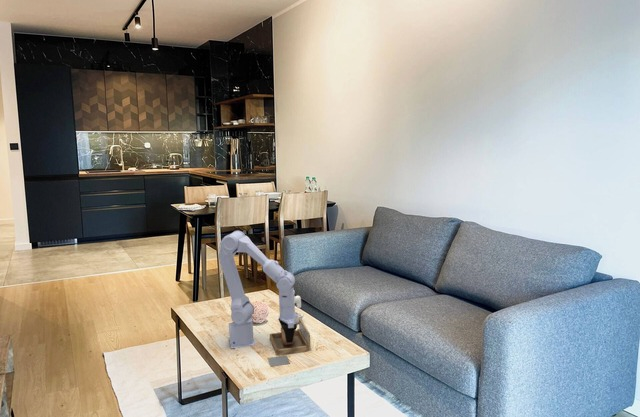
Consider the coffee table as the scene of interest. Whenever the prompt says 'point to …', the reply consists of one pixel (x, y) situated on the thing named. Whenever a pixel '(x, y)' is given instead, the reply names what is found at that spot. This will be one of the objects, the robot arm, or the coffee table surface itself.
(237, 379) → the coffee table surface
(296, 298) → the figurine
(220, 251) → the robot arm
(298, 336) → the cold frame
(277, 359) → the tile
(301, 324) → the lid
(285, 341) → the pot
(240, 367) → the coffee table surface
